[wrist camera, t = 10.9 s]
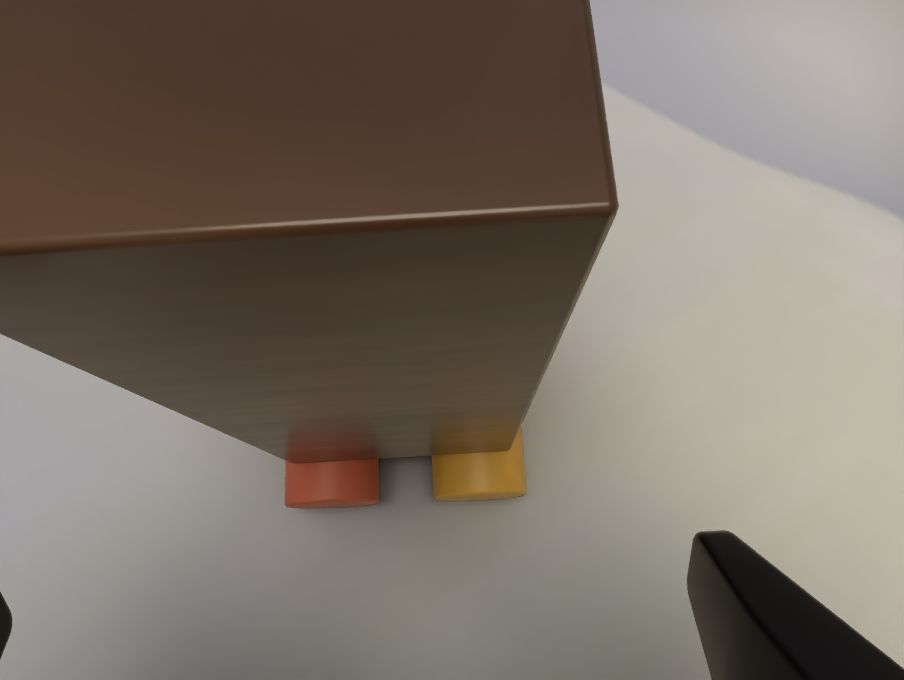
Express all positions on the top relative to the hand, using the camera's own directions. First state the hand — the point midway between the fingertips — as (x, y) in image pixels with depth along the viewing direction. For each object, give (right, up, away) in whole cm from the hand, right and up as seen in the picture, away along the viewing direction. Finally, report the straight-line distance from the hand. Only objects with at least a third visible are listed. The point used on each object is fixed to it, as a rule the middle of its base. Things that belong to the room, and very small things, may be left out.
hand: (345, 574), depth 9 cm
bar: (0, +2, +8) cm, 9 cm away
